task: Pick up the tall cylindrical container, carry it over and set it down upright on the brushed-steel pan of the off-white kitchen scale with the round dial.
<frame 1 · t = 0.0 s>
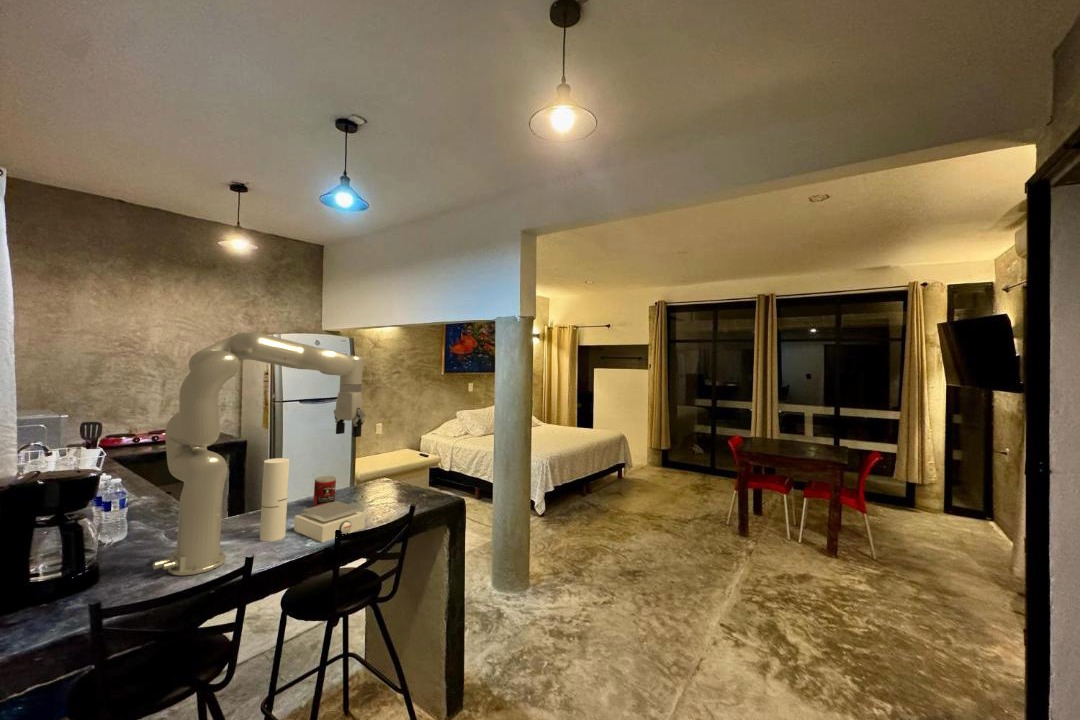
hand: (348, 435, 159), 31 cm above the worktop, tool pointing down, fingers open, 9 cm apart
cylindrical container: (272, 537, 141), on the worktop
scale pan: (331, 510, 150), point 6 cm above the worktop, slide at -0.2 cm
scale base: (330, 529, 150), on the worktop
canned food: (324, 506, 173), on the worktop
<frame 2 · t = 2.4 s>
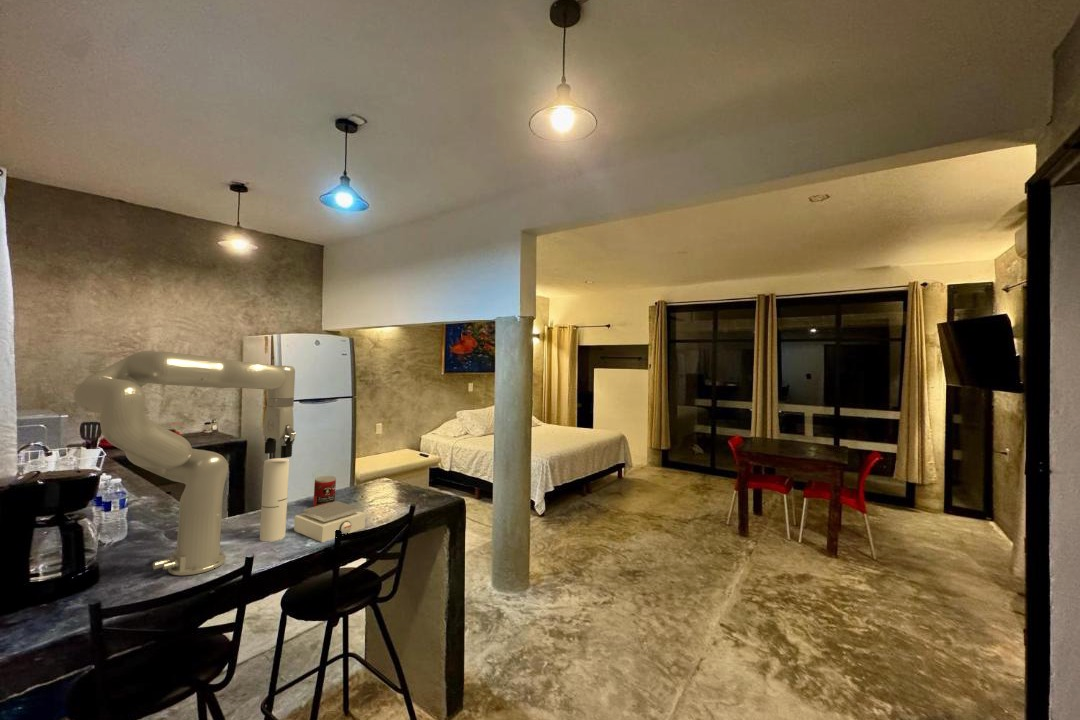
hand: (278, 455, 142), 27 cm above the worktop, tool pointing down, fingers open, 9 cm apart
nothing on the worktop moved.
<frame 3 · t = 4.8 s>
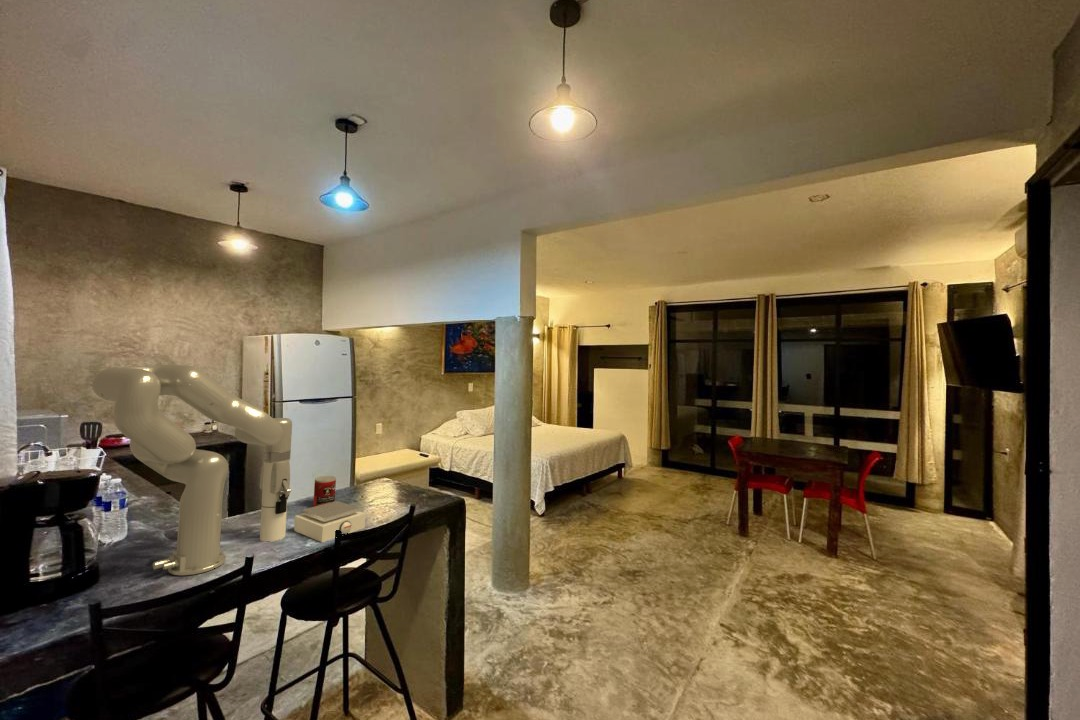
hand: (274, 510, 141), 9 cm above the worktop, tool pointing down, fingers closed on cylindrical container, 7 cm apart
cylindrical container: (272, 537, 141), on the worktop, touching gripper
everything else where it was.
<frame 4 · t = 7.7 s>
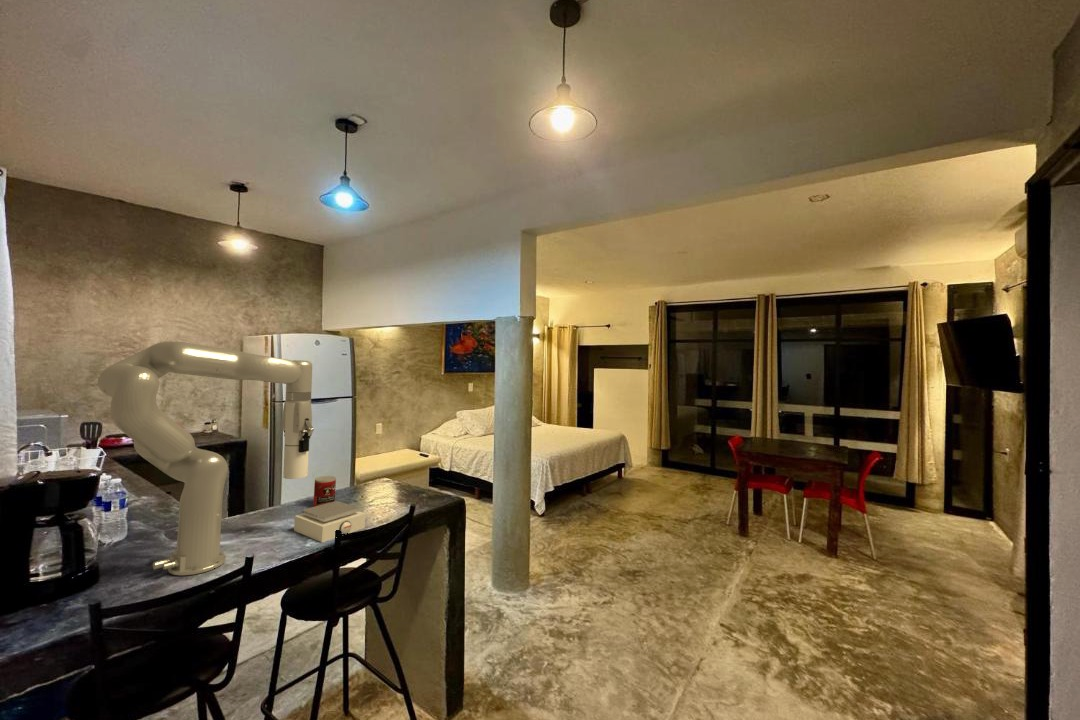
hand: (296, 449, 145), 28 cm above the worktop, tool pointing down, fingers closed on cylindrical container, 7 cm apart
cylindrical container: (295, 476, 145), point 19 cm above the worktop, touching gripper
everything else where it was.
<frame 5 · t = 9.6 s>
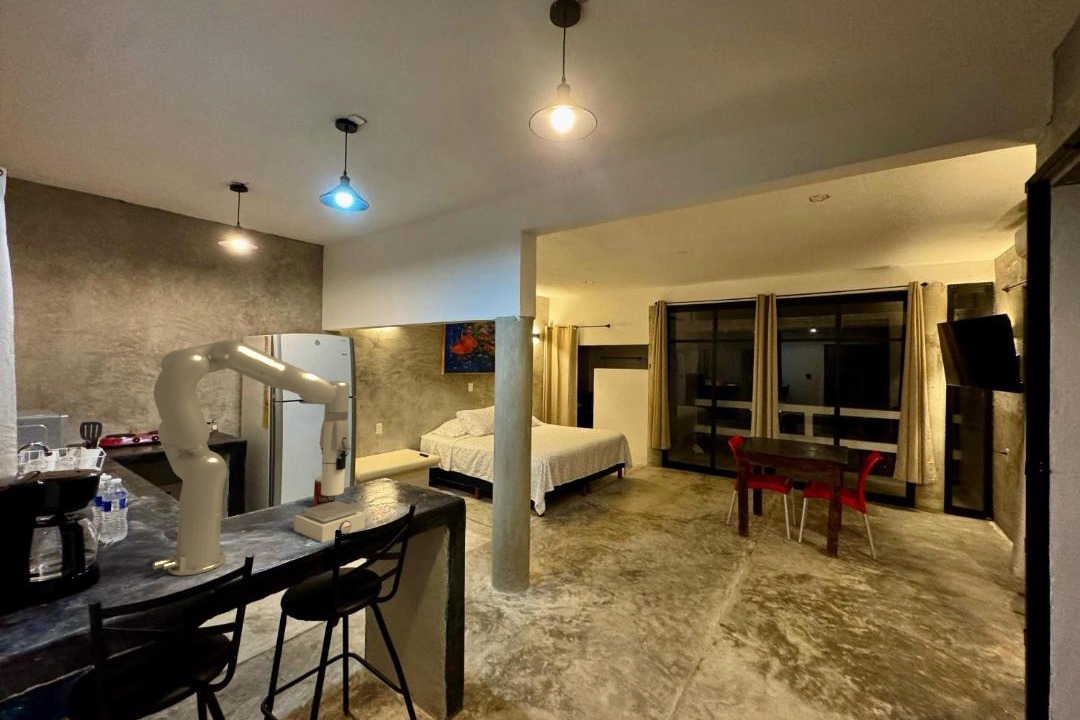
hand: (333, 467, 150), 21 cm above the worktop, tool pointing down, fingers closed on cylindrical container, 7 cm apart
cylindrical container: (332, 493, 150), point 12 cm above the worktop, touching gripper
everything else where it was.
when the fingers open (17 cm above the worktop, at t = 10.9 s): cylindrical container drops 2 cm, resting on scale pan.
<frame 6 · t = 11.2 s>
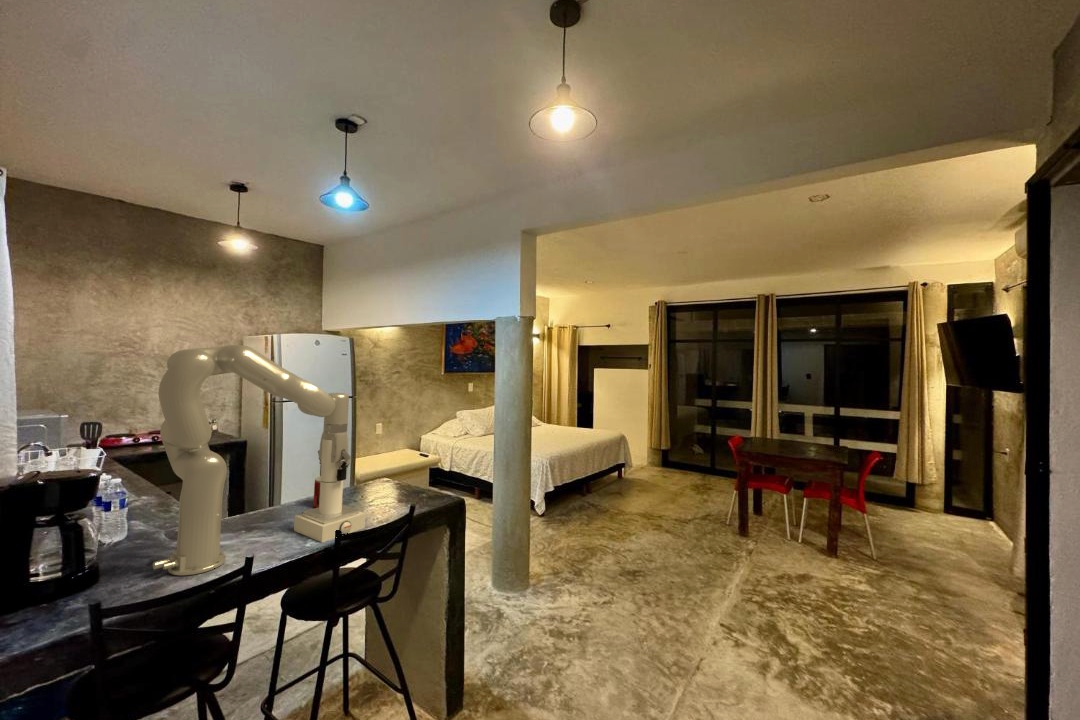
hand: (332, 477, 150), 18 cm above the worktop, tool pointing down, fingers open, 9 cm apart
cylindrical container: (330, 511, 150), point 6 cm above the worktop, touching scale pan
scale pan: (330, 512, 150), point 6 cm above the worktop, slide at -0.9 cm, touching cylindrical container
everything else where it was.
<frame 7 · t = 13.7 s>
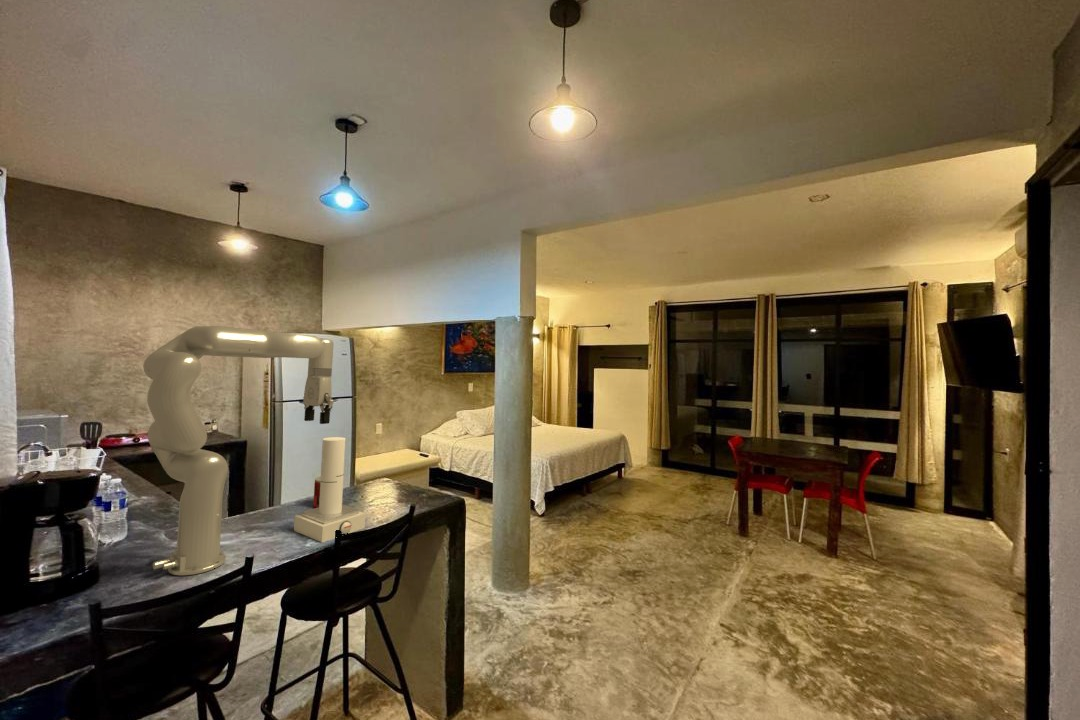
hand: (316, 422, 151), 37 cm above the worktop, tool pointing down, fingers open, 9 cm apart
nothing on the worktop moved.
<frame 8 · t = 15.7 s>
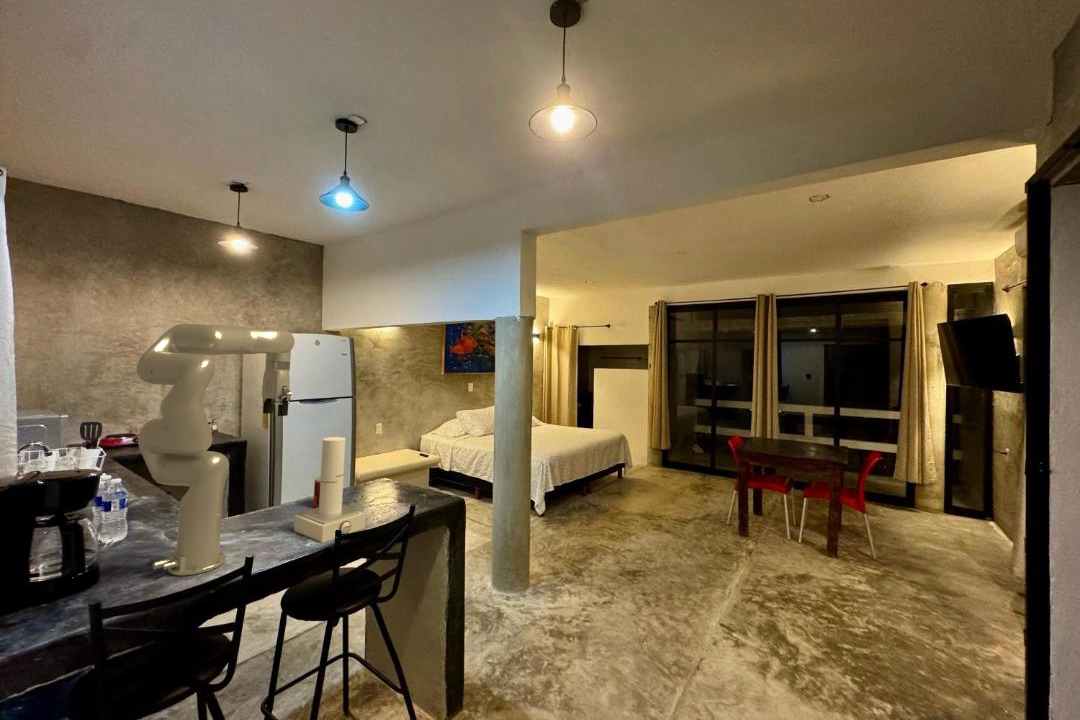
hand: (275, 414, 154), 38 cm above the worktop, tool pointing down, fingers open, 9 cm apart
nothing on the worktop moved.
at the end: cylindrical container inside the target area on the scale base (0.2 cm from its centre), point 6.1 cm above the scale base's base; cylindrical container tilted 0°; cylindrical container touching scale pan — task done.
